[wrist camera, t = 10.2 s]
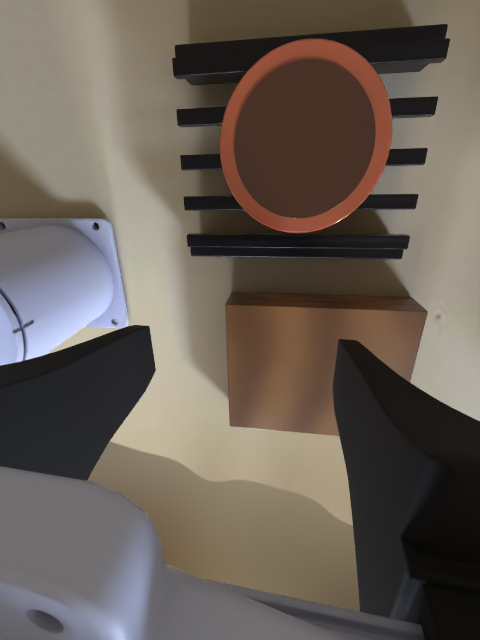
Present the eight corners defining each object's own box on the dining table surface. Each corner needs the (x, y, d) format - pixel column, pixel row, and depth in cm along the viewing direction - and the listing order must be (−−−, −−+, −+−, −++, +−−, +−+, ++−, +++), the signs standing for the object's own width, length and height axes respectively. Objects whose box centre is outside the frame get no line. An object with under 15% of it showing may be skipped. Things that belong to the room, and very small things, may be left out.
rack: (201, 248, 21) (188, 258, 18) (189, 63, 17) (170, 40, 14) (388, 250, 19) (405, 261, 17) (424, 46, 15) (454, 17, 12)
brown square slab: (234, 405, 26) (229, 426, 24) (231, 291, 22) (225, 304, 19) (385, 417, 24) (395, 441, 22) (412, 297, 20) (428, 311, 18)
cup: (243, 216, 17) (222, 232, 11) (241, 96, 15) (215, 44, 9) (346, 216, 16) (377, 233, 11) (361, 90, 14) (410, 29, 8)
